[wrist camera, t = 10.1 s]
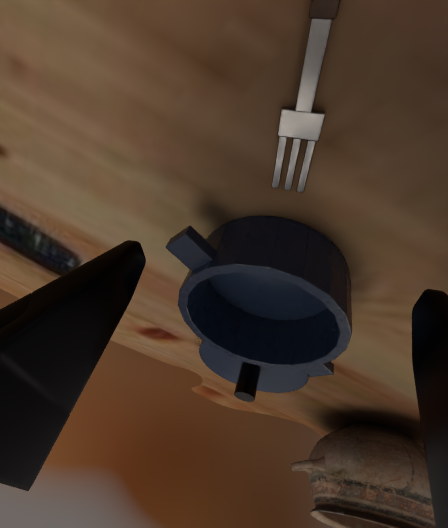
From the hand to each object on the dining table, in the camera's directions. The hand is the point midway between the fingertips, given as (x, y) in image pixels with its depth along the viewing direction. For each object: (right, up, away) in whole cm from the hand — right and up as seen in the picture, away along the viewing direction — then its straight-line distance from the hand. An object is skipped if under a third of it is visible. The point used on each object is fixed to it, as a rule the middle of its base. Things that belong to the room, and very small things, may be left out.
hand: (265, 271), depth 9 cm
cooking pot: (+22, -25, +35) cm, 49 cm away
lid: (+2, -13, +29) cm, 32 cm away
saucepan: (+3, -1, +17) cm, 18 cm away
